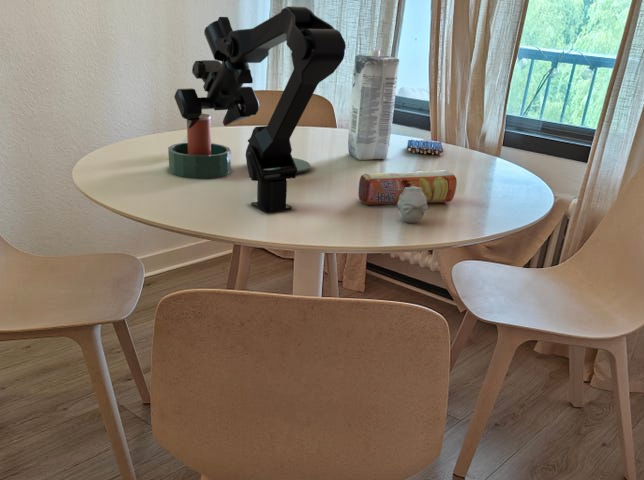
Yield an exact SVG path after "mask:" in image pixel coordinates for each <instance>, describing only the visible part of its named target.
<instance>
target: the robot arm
mask: <svg viewBox="0 0 644 480" xmlns="http://www.w3.org/2000/svg"><path fill="white" fill-rule="evenodd" d="M203 33H204V34H203V35H204V36H205V39H206V41H207V44H208V46H209V49H210V51H211V54H212V56H213V59H211V60H209V59H208V60H206V59H204V60H195V61H194V62H193V65H192V68H191V73H192V75H193V76H194V77H195V79H196V80H198V79H199V80H202V82H203V83H204V84H203V86H202V88H203V90H204V92H206V93H207V94H206V96H204V97H203V96H202V97H199V96H198V94H197V91H196V89H195V88H192V87H191V88H177V89H176V91H175V94H174V96H173V98H174V100H175V103H176V105H177V108H178V110H179V113H180V116H181V117H182V118H183V119H185V120H186V127H187V126H188V128H191V127H192V126H193V125H194V124H195V123H196V122H197V121H198V120H199V119H200V118H199V117H200V116H201V114H203V110H214V111H226V113H225V115H224V116H223V120H222V124H223V126H224V127H225V126H229V125H230V124H233V123H235V122H237V121H241V120H243V119H246V118H249V117H251V116H256V115H257V113H258V112H259V110H260V102H259V99H258V97H257V95H256V93H255V90H254V88H253V86H243V85H244V84H245V85H246V84H253V83H254V77H253V74H252V71H251V66H250V65H249V64H259V63H262V62H263V61H264V60H265V59H266V58H267V57H268V56H269V55H270V50H271V49H273V48H274V47H277V46H279V45H280V44H282V43H285V42H286V46H287V47H288V48H289V49H290V51H291V54H290V55H291V56H290V57H291V61H292V65H293V69H292V72H291V75H290V76H289V78H288V80H287V83H286V85H285V87H284V89H283V91H282V94H281V96H280V97H279V100H278V102H277V104H276V106H275V108H274V111H273V113H272V115H271V117H270V119H269V121H268V124H267V125H263V126H255V127H254V128H253V129H252V132H251V135H250V137H249V138H248V139H247V142H248V144H247V147H246V150H245V160H246V167H247V173H248V177H249V178H250V180H251V181H252V182H257V184H256V185H257V187H256V189H257V190H256V200H257V201H252V202H251V203H250V205H251V206H253V207H254V208H256V209H258V210H260V211H262V212H264V214H265V213H266V214H269V213H276V212H283V211H289V210H293V206H291V205H290V204H288V203H287V190H288V180H290V179H296V177H297V174H298V173H297V167H296V165H295V163H294V160H293V158H294V157H293V156H292V151H293V148H292V143H291V137H292V135H293V133H294V131H295V129H296V127H297V126H298V124H299V122H300V120H301V118H302V116H303V114H304V112H305V110H306V108H307V106H308V104H309V102H310V100H311V99H312V97H313V95H314V93H315V91H316V89H317V87H318V85H319V84H320V83H321V82H323V81H324V80H326V79H327V78H328V77H329V76H331V75H333V74H334V73H335V71H336V70H337V69H338V68H339V66H340V65H341V63H342V62H343V60H344V58H345V55H346V51H347V49H346V46H347V45H346V41H345V39H344V38H343V34H342V33H341V31H340V30H338V29H335V28H334V26H333V25H331V24H330V23H328V22H327V21H325V20H324V19H322V18H320V17H318V16H317V15H315V14H314V12H313V11H312V10H311V9H310V8H308V7H305V6H286V7H284V8H282V9H281V10H280V12H279V13H278V12H277V13H276V14H274V15H273V16H271V17H269V18H268V19H266V20H265V21H263V22H261V23H259V24H258V25H256V26H254V27H252V28H243V29H237V30H236V29H235V30H233V28H232V25H231V21H230V19H229V16H219V17H218V19H217V20H215V21H213V22H211V23H209V24H208V25H207V26H206V27H205V28H204V31H203ZM271 168H280V169H275V170H266V171H264V170H263V169H271Z"/></svg>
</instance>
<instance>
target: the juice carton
mask: <svg viewBox="0 0 644 480" xmlns="http://www.w3.org/2000/svg"><path fill="white" fill-rule="evenodd" d="M380 52H381V50H368V55H364V54H356V55H355V58H354V68H353V69H354V70H353V79H352V89H351V101H350V114H349V123H348V124H349V126H348V140H347V145H348V154H349V155H350V156H352V157H354V158H355V159H357V160H360V161H366V160H367V161H368V160H386V159H387V157H388V154H389V149H390V143H391V135H392V126H393V120H394V119H393V118H394V110H395V103H396V102H395V101H396V93H397V84H398V83H397V82H398V76H399V65H400V64H399V63H400V59H399V58H397V57H393V56H389V55H380V54H381V53H380Z"/></svg>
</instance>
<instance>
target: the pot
mask: <svg viewBox="0 0 644 480" xmlns="http://www.w3.org/2000/svg"><path fill="white" fill-rule="evenodd" d="M167 153H168V171H169V173H170V174H172V175H174V176H177V177H181V178H186V179H198V180H199V179H200V180H201V179H202V180H206V179H217V178H222V177H225V176H228V175H229V174H230V173H231V171H232V150H231V149H230V147H229V146H226V145H223V144H219V143H213V142H211V155H188V143H182V142H179V143H175V144H171V145H170V146H167Z"/></svg>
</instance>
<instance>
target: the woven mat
mask: <svg viewBox="0 0 644 480" xmlns="http://www.w3.org/2000/svg"><path fill="white" fill-rule="evenodd" d="M406 150H407V151H408V152H411V151H412V153H413V154H415V153H417V154H418V153H419V152H420V154H424V155H426V154H427V153H428V154H431V155H432V156H433V155H434V154H435V155H439V156H442V155H443V153H444V148H443V144H442V142H441V141H440V142H439V141H431V140H419V139H416V140H415V139H408V140H407V145H406Z"/></svg>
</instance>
